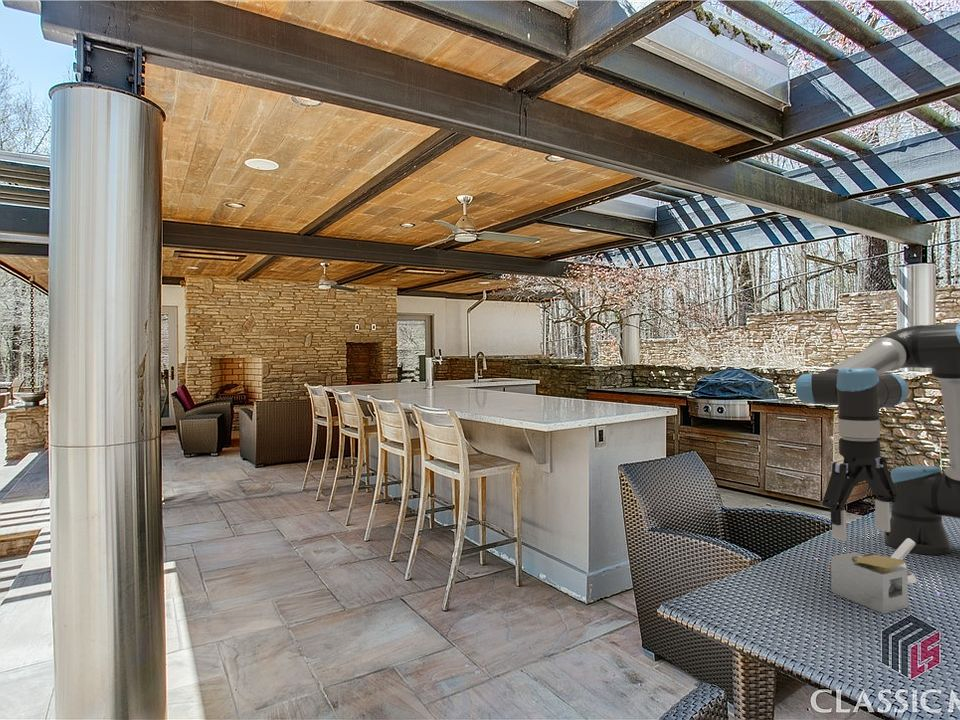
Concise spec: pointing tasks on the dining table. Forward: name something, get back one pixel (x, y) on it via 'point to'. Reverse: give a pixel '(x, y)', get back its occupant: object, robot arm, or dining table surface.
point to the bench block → (869, 583)
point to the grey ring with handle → (901, 553)
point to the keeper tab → (877, 560)
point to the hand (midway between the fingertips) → (861, 534)
